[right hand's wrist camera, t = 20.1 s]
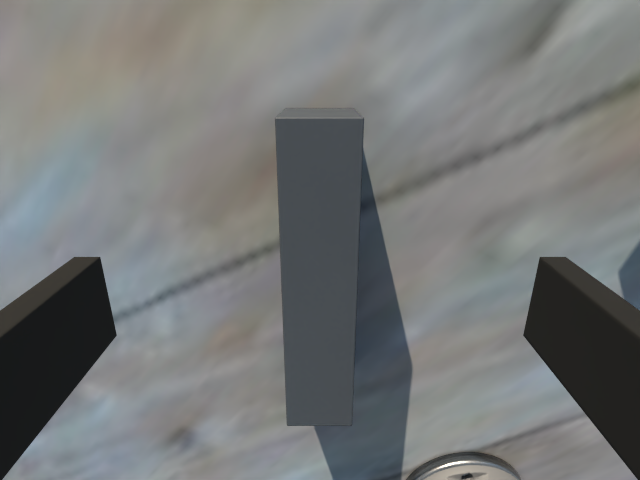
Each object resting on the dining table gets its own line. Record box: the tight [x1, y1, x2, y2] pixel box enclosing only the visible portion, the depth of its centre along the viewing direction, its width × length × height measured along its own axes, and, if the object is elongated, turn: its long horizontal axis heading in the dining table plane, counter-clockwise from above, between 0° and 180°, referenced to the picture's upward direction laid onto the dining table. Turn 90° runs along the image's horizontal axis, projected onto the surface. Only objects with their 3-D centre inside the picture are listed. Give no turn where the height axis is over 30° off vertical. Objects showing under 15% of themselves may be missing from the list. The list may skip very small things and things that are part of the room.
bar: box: [275, 108, 364, 426], centre depth 35 cm, size 26×6×8 cm, turn 0°
